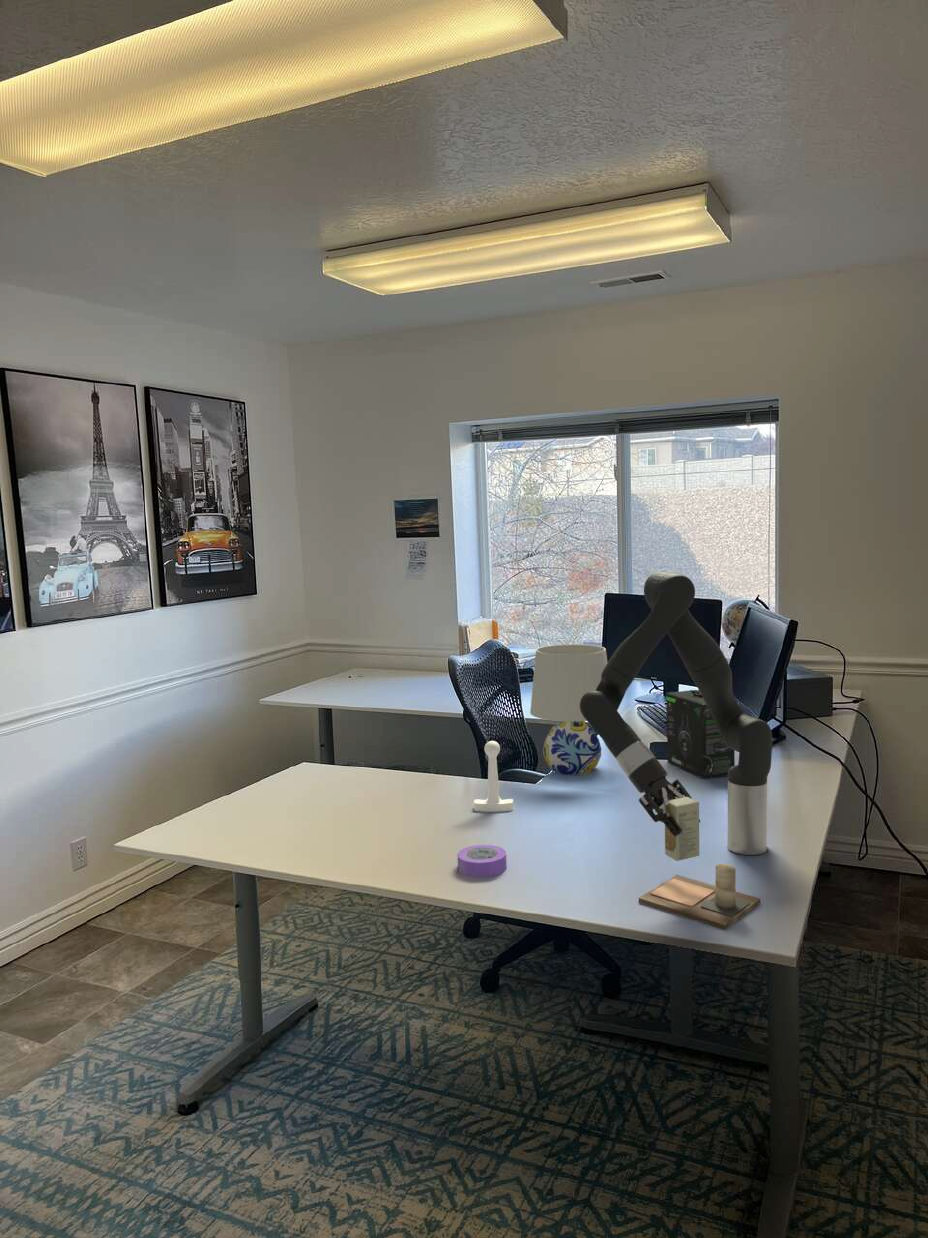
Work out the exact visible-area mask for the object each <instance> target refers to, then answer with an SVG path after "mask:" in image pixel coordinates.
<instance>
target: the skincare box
mask: <svg viewBox="0 0 928 1238" xmlns="http://www.w3.org/2000/svg"><path fill="white" fill-rule="evenodd" d="M668 804H669V811H670V814H671V816H672V817H673V818H674V819H675V821H676V822H677V823H678V825H679V826H680V827H681V829H682V832H681V833H680V834H679V835H677V836H674V835H673V834H672V833H671V832H670V830H669V829H668V828H667V827H666V825H665V824H664V855H666V856H668V858H671V859H672V860H674V861H677V862H679V861H683V860H688V859H691V858H695V857H698V856H700V823H699V819H700V801H697V800H696V799H693V798H692V799H691V798H689V797H685V796H683V797H682V798H676V799H672V800H669V803H668ZM671 816H670V817H671Z"/></svg>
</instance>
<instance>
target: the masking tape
mask: <svg viewBox="0 0 928 1238" xmlns="http://www.w3.org/2000/svg"><path fill="white" fill-rule="evenodd" d="M507 867H508V865H507V851H506V850H505V849H504V848H502V847H501V846H497V845H492V844H475V845H470V846H466V847H464V848H462V849H460V850H459V851H458V853H457V870H458V872H459V873H461V874H462V875H464V876H466V877H471V878H490V877H491V878H492V877H495V876H499V875H501V874H503V873H505V872H506V870H507V869H508V868H507Z"/></svg>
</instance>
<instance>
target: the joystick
mask: <svg viewBox="0 0 928 1238" xmlns="http://www.w3.org/2000/svg"><path fill="white" fill-rule="evenodd" d="M500 751H501V747H500V744H499V743H498V742H497V741H495V740H490V741H488V742H486V743H485V745H484V752H485V754H486V755H487V757H488V758H487V759H488V766H487V767H488V768H487V769H488V770H487V797H486V799H478V798H477V799H474V800H473V805H474V806H473V808H474V811H475V812H484V813H485V812H487V813H490V812H492V813H494V812H495V813H496V812H497V813H498V812H499V813H500V812H509V811H514V799H513V798H506V799H502V798H501V796H500V788H499V787H500V786H499V785H500V784H499V775H498V774H499V773H498V762H497V761H498V759H497V757H498V755H499V754H500Z"/></svg>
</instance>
